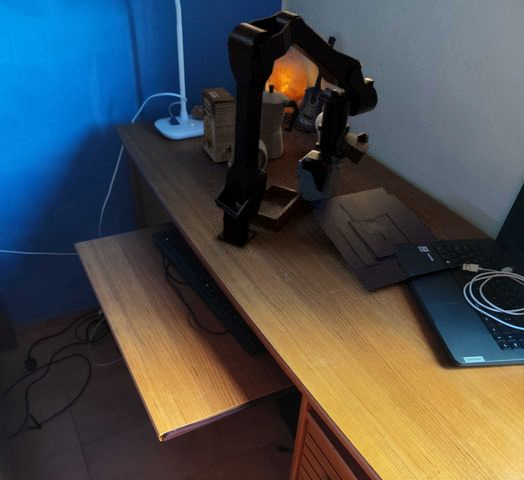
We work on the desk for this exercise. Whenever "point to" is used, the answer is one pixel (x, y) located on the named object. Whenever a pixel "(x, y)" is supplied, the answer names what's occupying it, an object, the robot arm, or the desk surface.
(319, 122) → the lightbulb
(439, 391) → the desk surface
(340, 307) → the desk surface
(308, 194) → the tabbed grey block
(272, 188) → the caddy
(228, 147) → the coffee box
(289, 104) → the coffeepot
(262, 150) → the ceramic mug
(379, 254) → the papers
